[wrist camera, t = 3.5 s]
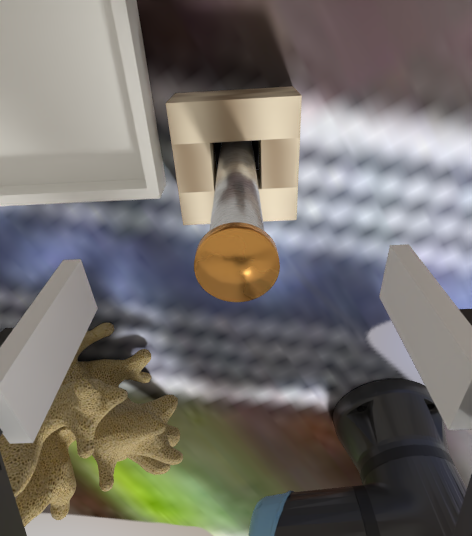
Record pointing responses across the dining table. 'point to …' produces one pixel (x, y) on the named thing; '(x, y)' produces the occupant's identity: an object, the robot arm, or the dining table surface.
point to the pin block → (236, 129)
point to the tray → (75, 104)
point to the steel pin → (236, 232)
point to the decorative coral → (91, 432)
